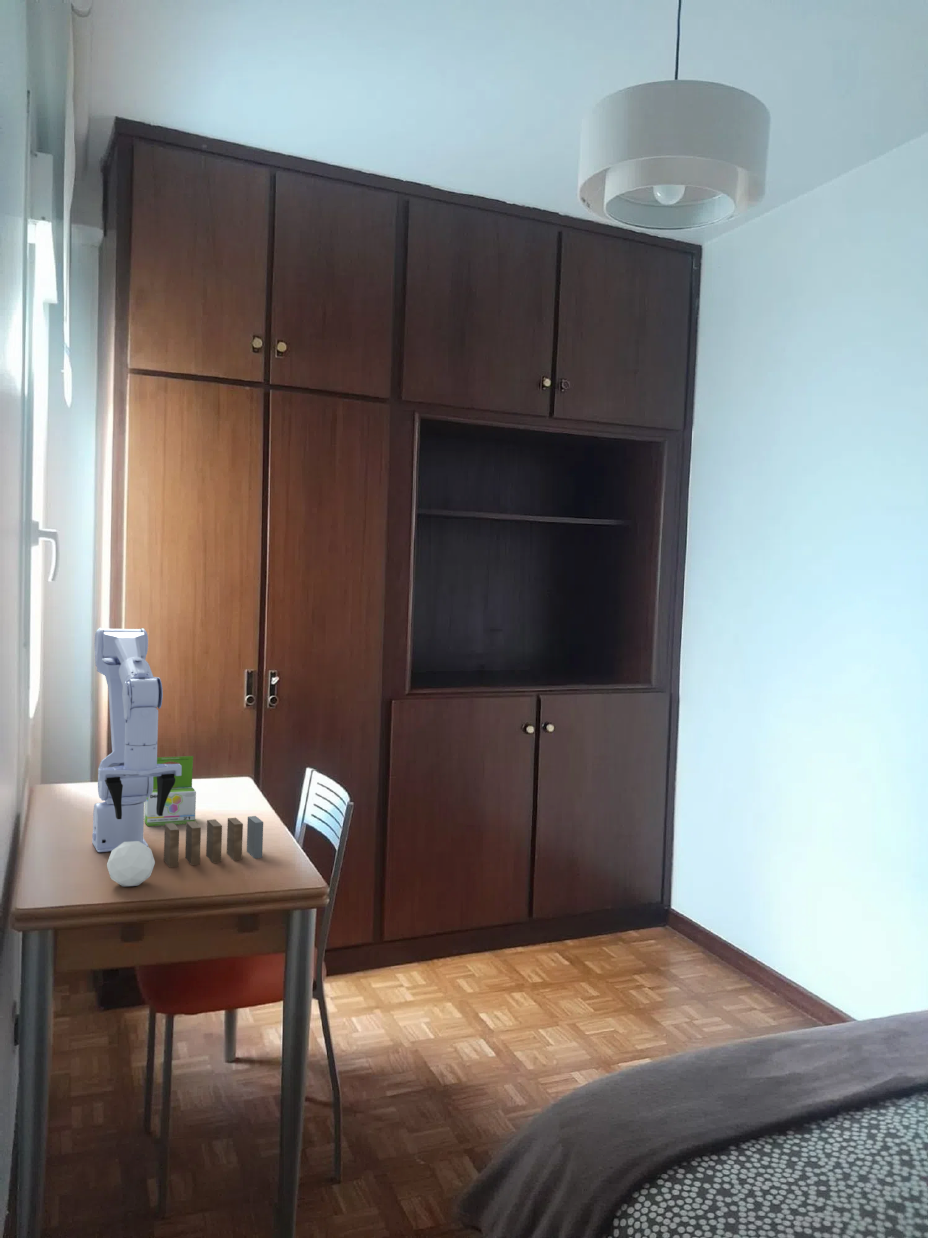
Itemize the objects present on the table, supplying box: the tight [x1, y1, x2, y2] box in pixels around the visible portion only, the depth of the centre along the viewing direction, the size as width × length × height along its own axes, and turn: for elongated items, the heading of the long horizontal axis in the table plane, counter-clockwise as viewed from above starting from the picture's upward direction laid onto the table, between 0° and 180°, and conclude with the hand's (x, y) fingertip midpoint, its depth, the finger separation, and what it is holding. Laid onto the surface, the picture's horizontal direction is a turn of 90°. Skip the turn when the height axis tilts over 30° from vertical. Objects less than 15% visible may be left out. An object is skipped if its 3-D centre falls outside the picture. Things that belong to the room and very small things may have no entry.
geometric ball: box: [106, 841, 156, 888], centre depth 168 cm, size 8×8×8 cm
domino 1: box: [163, 823, 180, 868], centre depth 181 cm, size 2×5×7 cm, turn 29°
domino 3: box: [205, 818, 223, 864], centre depth 185 cm, size 2×5×7 cm, turn 29°
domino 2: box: [184, 820, 202, 866], centre depth 183 cm, size 2×5×7 cm, turn 29°
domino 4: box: [226, 817, 244, 861], centre depth 186 cm, size 2×5×7 cm, turn 29°
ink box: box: [144, 755, 197, 827], centre depth 210 cm, size 10×5×14 cm, turn 114°
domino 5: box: [246, 815, 264, 859], centre depth 188 cm, size 2×5×7 cm, turn 29°
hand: (139, 816), depth 178 cm, fingers open, 7 cm apart
